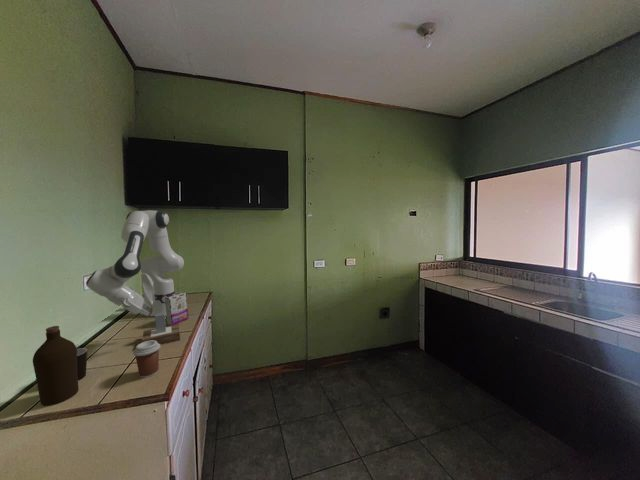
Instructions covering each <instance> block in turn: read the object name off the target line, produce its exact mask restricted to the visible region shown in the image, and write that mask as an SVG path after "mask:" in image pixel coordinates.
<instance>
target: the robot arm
mask: <svg viewBox="0 0 640 480" xmlns="http://www.w3.org/2000/svg"><path fill="white" fill-rule="evenodd" d="M125 218H126V219H125V221H124V225H123V226H122V230H121V239H122V240H123V241H124V242H125V243H126V245H125V249H124V251H123V255H122V256H121V257H120V258H119V259H118V260H116V262H115V263H114V264H113V265H111V266H109V267H107V268H103V269H100V270H99V269H97V270H94V272H93V273H92V274H91V275H90V276H89V277H88V278H87V280H86V281H85V282H86V283H85V284H86V287H88V289H89V290H91V291H92V292H94V293H95V294H97V295H99V296H100V297H105V298H106V300H108V301H109V302H111V303H113V304H114V305H116V306H117V307H120V306H122V308H123V309H124V310H126V311H128V312H129V313H132V314H133V315H136V316H137V315H138V314H141V315H144V316H146V317H148V316H149V317H155V314H159V313H165V317H167V316H166V306H165V298H167V297H170V296H173V295H176V291H175V284H174V280H173V278H171V277H169V276H166V275H165V273H171V272H177V271H181V270H183V268H184V266H185V261H184V257H183V256H181V255H179V254H177V253H176V252H175V251H174V250H173V249H172V246H171V244H170V239H169V234H168V229H167V227H168V225H169V224H170V217H169V214H168V212H166V211H165V210H150V209H148V210H133V211H130V212H128V213H127V215H126V217H125ZM146 238H147V239H148V240H147V241H148V246H149V249H150V250H151V251H152V252H155V253H157V254H158V255H156V256H148V257H143V258H142V259H140V258H141V257H140V256H141V253H142V252H141V251H142V247H143V244H144V241H145V239H146ZM141 270H142V271H141ZM140 271H141V272H142V273H146V274H147V275H149V276H150V278H151V279H152V281H153V283H154V284H153V289H154V298H155V301H154V302H153V303H152V306H153V309H152V311H151V310H150V309H151V307H150V306H148V305H147V304H146V303H145V302H144V296H142V295H141V294H140V293H138V292H136V291H135V289H134V288H132V287H129V286H127V285H126V284H125V283H126V282H128V281H129V280H131V279H132V278H133V277H134V276H136V275H138V274H139V273H140ZM145 309H146V310H145ZM150 311H151V312H150Z"/></svg>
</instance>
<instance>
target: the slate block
mask: <svg viewBox="0 0 640 480" xmlns="http://www.w3.org/2000/svg"><path fill="white" fill-rule="evenodd" d="M154 318H155V329H156V333H157V334H158V333H162V332H166V326H167V324H166V316H165V313H159V314H155V316H154Z"/></svg>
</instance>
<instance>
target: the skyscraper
mask: <svg viewBox="0 0 640 480" xmlns="http://www.w3.org/2000/svg"><path fill="white" fill-rule="evenodd" d="M139 273H140V277H141V284H142V288H143V298H144V302H145V303H146V304H147V305H148V306H150V307H151V309H150V310H149V311H151V310H152V311H153V306H152V303H153V302H154V301H155V298H154V294H155V288H154V283H153V281H152V279H151V278H150V276H149V275H147V274H146V273H144V272H143V271H142V270H141V269H140V271H139ZM144 310H146V309H145V308H144ZM146 311H147V310H146Z"/></svg>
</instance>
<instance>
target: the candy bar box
mask: <svg viewBox="0 0 640 480" xmlns="http://www.w3.org/2000/svg"><path fill="white" fill-rule="evenodd" d="M187 300H188V299H187V293H185V292H180V293H175V295H173V296H170V297H167V298H165V306H166V316H165V317H166V325H167V326H170V325H175V324H179V323H181V322H184V321H187V320H188V319H189V309H188V301H187Z"/></svg>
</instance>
